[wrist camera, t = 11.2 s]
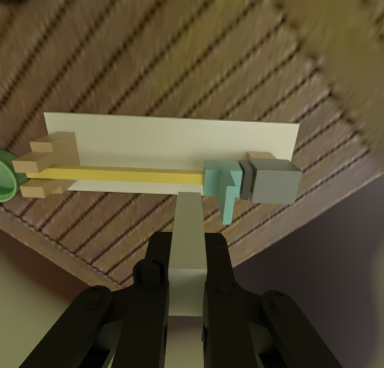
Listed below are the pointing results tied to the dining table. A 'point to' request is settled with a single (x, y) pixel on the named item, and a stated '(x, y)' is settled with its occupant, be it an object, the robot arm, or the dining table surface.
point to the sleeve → (223, 185)
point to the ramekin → (9, 176)
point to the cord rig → (158, 155)
